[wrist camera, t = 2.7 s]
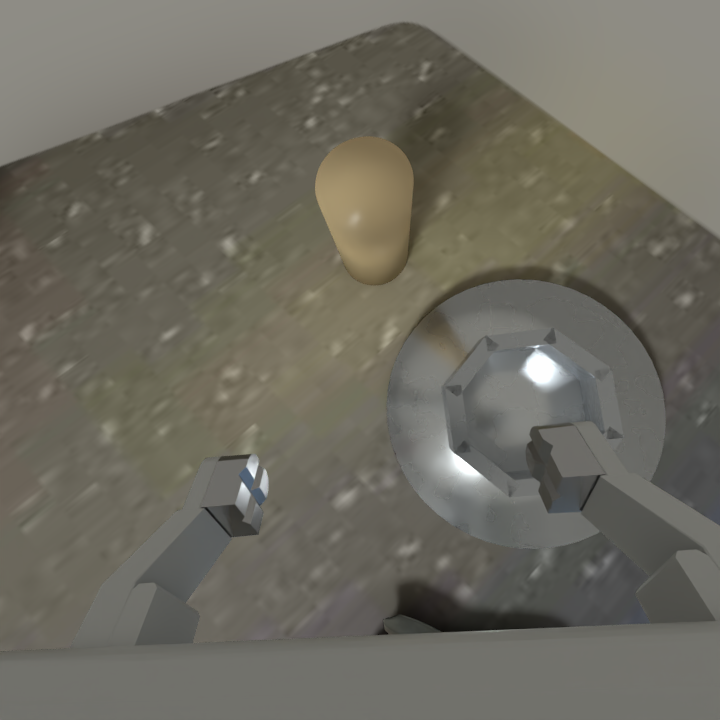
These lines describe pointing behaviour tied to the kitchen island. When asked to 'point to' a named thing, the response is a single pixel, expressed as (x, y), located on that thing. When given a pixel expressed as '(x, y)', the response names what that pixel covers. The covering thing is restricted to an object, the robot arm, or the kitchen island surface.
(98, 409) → the kitchen island surface
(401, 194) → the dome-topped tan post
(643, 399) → the collar
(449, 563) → the kitchen island surface
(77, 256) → the kitchen island surface
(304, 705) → the robot arm
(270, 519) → the kitchen island surface
